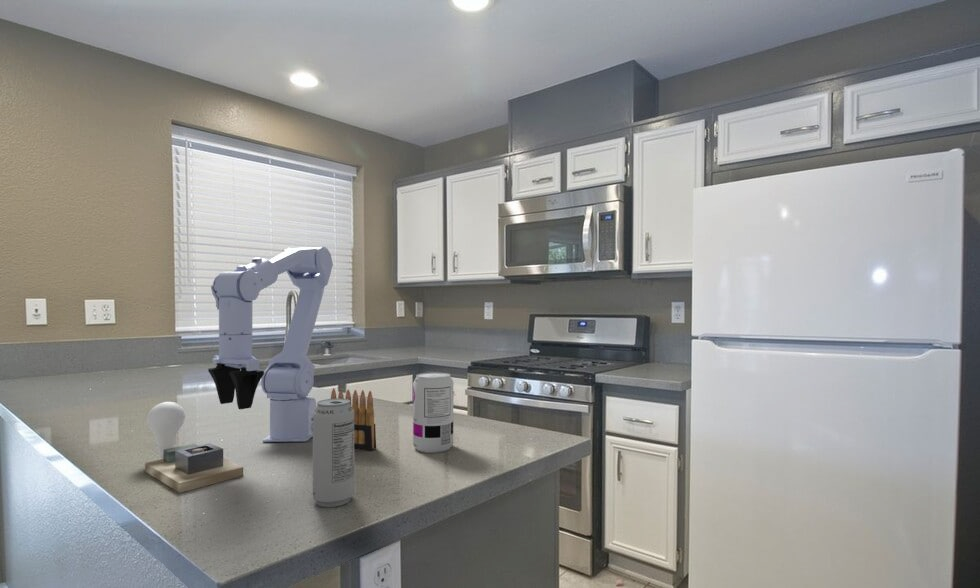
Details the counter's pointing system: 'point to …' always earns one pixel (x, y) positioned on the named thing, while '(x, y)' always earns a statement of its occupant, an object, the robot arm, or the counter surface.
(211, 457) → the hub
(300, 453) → the counter surface
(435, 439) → the supplement can
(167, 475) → the stand
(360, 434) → the ammunition clip
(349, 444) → the energy drink can
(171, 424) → the lightbulb
